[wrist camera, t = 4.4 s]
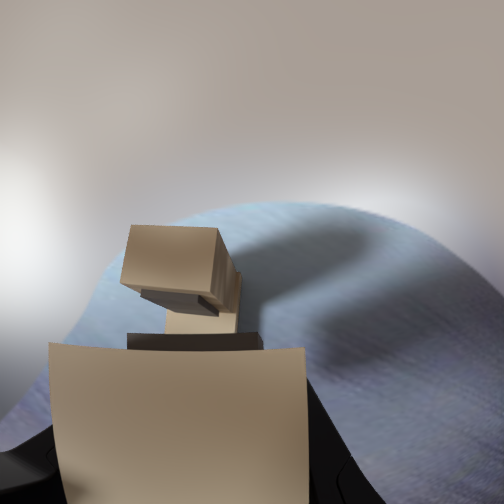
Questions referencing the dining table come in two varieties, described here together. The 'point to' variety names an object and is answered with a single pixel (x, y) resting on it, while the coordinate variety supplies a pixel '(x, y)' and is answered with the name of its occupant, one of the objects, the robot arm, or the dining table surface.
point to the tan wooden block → (181, 421)
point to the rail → (184, 277)
